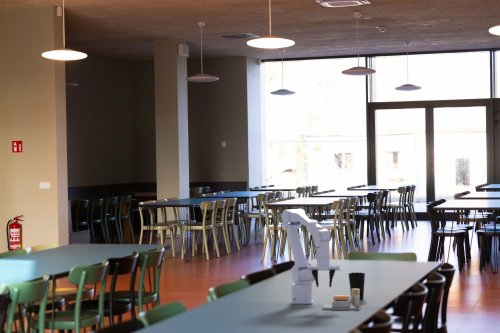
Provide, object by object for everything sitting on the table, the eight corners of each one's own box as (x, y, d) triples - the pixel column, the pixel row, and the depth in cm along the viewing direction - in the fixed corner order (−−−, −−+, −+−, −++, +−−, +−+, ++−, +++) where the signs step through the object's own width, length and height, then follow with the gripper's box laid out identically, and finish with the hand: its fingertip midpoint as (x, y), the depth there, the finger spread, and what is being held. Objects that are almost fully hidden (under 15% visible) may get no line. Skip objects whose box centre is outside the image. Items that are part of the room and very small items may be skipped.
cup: (353, 301, 368) (352, 275, 368) (346, 298, 375) (345, 273, 375) (368, 299, 370) (367, 274, 370) (361, 297, 377) (360, 272, 377)
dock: (322, 309, 348) (322, 298, 348) (324, 305, 358) (324, 294, 358) (359, 310, 346) (358, 298, 346) (360, 305, 355) (359, 294, 355)
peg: (351, 305, 357) (351, 289, 357) (352, 303, 361) (351, 288, 361) (359, 305, 357) (359, 289, 357) (360, 303, 360) (359, 288, 360)
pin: (333, 299, 352) (333, 296, 352) (333, 299, 353) (333, 295, 353) (349, 299, 350) (348, 296, 350) (349, 299, 352) (349, 295, 352)
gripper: (305, 257, 351) (306, 288, 351) (338, 257, 348) (339, 288, 348) (307, 255, 357) (308, 285, 358) (339, 255, 355) (340, 285, 355)
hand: (324, 286), depth 353 cm, fingers open, 5 cm apart
